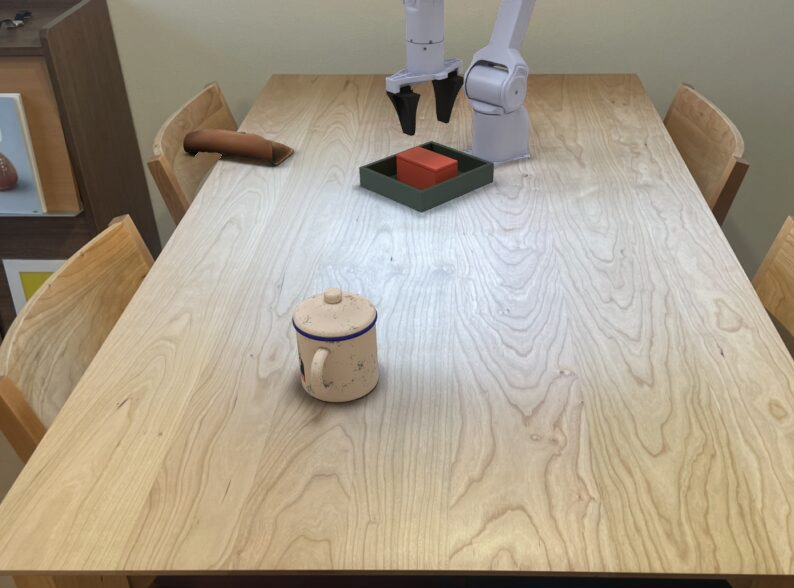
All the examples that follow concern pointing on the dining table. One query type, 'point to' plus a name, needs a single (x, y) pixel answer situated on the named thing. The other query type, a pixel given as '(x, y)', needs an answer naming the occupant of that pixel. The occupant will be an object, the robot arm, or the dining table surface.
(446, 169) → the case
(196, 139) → the sunglasses case
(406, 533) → the dining table surface
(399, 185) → the tote
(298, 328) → the teacup with lid
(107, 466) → the dining table surface
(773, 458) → the dining table surface
